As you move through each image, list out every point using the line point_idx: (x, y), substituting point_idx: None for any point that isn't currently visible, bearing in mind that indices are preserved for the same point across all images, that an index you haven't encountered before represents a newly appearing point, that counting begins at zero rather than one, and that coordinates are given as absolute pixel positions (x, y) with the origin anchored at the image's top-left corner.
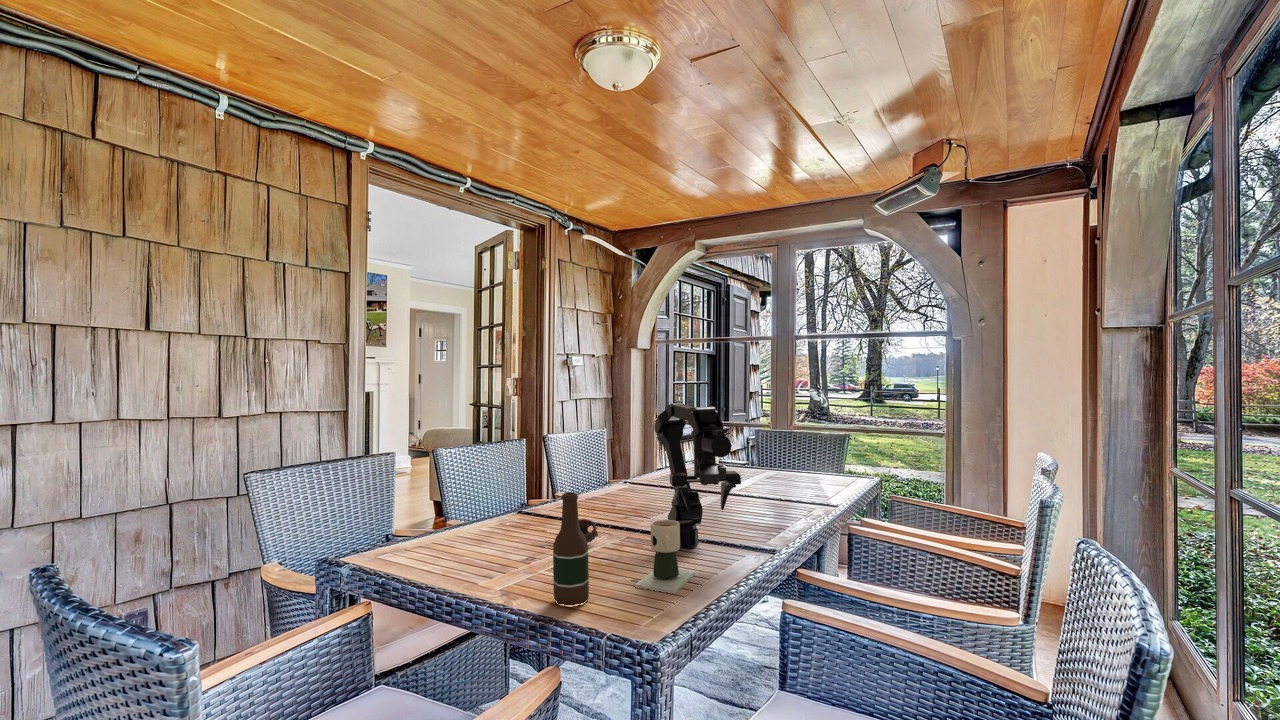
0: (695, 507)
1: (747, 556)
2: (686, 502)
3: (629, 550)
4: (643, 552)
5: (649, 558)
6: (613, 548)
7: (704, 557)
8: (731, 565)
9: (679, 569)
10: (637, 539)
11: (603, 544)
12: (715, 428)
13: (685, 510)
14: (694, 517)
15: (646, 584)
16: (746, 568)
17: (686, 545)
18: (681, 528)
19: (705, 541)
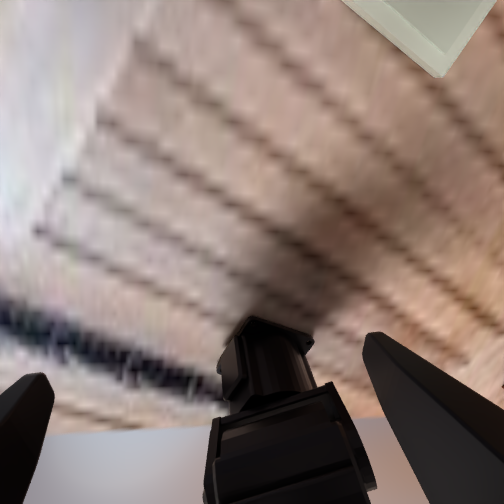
0: (252, 483)
1: (22, 227)
2: (468, 391)
3: (446, 305)
4: (413, 286)
5: (416, 225)
6: (482, 322)
7: (214, 225)
8: (97, 101)
9: (369, 10)
10: None
11: (492, 353)
12: None
13: (314, 449)
14: (250, 426)
15: None
16: (11, 37)
17: (266, 332)
18: (297, 382)
19: (191, 383)
